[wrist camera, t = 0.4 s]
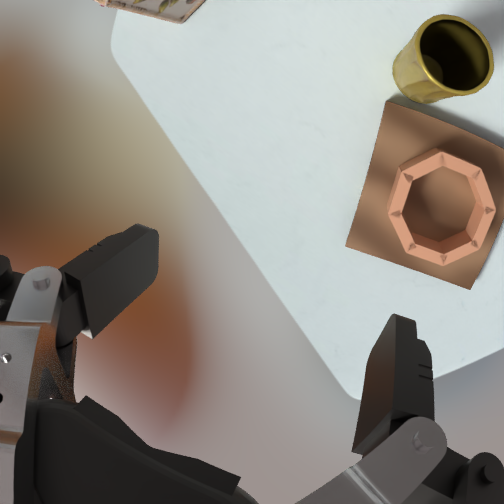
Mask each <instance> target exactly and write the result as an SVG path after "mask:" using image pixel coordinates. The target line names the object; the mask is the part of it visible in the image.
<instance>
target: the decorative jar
mask: <svg viewBox="0 0 504 504" xmlns="http://www.w3.org/2000/svg"><path fill="white" fill-rule="evenodd" d="M94 1H96V2H98V3H99V4H100V5H101V6H107V7H113V8H117V9H122V10H126V11H130V12H134V13H138V14H142V15H146V16H150V17H154V18H157V19H161V20H165V21H169V22H173V23H178V24H182V23H183V22H184V21H185V20H186V19H187V18H188V17H189V16H190V15H191V14H192V13H193V12H194V11H195V10H196V9H197V8H198V7H199V6H200V5H201V4H202V3H203V2H204V1H205V0H94Z"/></svg>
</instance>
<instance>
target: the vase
mask: <svg viewBox="0 0 504 504" xmlns="http://www.w3.org/2000/svg"><path fill="white" fill-rule="evenodd" d="M493 70H494V61H493V53H492V49H491V47H490V45H489V43H488V41H487V39H486V38H485V36H484V35H483V34H482V33H481V31H480V30H478V29H477V28H476V27H475V26H474V25H472V24H471V23H469V22H468V21H466V20H465V19H463V18H460V17H457V16H452V15H444V14H441V15H436V16H433V17H431V18H430V19H428V20H427V21H425V22H424V23H423V24H422V25H421V26H420V27H419V28H418V29H417V31H416V32H415V34H414V36H413V37H412V39H411V40H410V42H409V43H408V44H407V45H406V46H405V47H404V49H403V50H402V51H401V52H400V53H399V54H398V55H397V57H396V58H395V60H394V63H393V77H394V80H395V83H396V85H397V87H398V88H399V89H400V91H401V92H402V93H403V94H404V95H405V96H406V97H408V98H409V99H411V100H413V101H415V102H418V103H423V104H429V103H434V102H437V101H439V100H441V99H445V98H450V97H453V96H465V95H469V94H473V93H476V92H478V91H479V90H480V89H482V88H483V87H484V86H486V85H487V84H488V82H489V80H490V78H491V76H492V74H493Z"/></svg>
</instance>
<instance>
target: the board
mask: <svg viewBox="0 0 504 504" xmlns="http://www.w3.org/2000/svg"><path fill="white" fill-rule="evenodd" d="M433 148H438V149H441V150H443V151H446V152H448V153H451V154H453V155H455V156H458V157H460V158H462V159H465V160H467V161H469V162H472V163H473V164H475V165H476V166H478V167H479V168H481V169H482V172H483V174H484V177H485V179H486V182H487V185H488V188H489V190H490V193H491V196H492V199H493V202H494V205H495V208H496V212H495V214H494V217H493V219H492V222H491V224H490V227H489V229H488V231H487V234H486V236H485V238H484V241H483V243H482V245H481V247H480V249H479V250H477V251H475V252H473V253H471V254H469V255H467V256H464V257H462V258H460V259H458V260H456V261H454V262H451V263H449V264H447V265H445V266H441V265H439V264H436V263H433V262H430V261H428V260H425V259H422V258H419V257H416V256H414V255H411V254H408V253H406V252H405V250H404V247H403V245H402V243H401V241H400V239H399V237H398V234H397V232H396V230H395V228H394V226H393V224H392V222H391V220H390V218H389V216H388V210H387V203H388V200H389V197H390V193H391V190H392V187H393V184H394V181H395V177H396V174H397V171H398V167H399V165H401V164H403V163H405V162H407V161H409V160H411V159H413V158H415V157H417V156H419V155H421V154H423V153H425V152H427V151H429V150H431V149H433ZM475 203H476V199H475V196H474V194H473V191H472V189H471V186H470V183H469V181H468V178H467V176H466V175H464V174H461V173H459V172H457V171H454V170H452V169H449V168H447V167H444V166H441V167H439V168H437V169H435V170H433V171H431V172H429V173H427V174H425V175H423V176H421V177H419V178H417V179H415V180H413V181H412V183H411V186H410V189H409V192H408V195H407V198H406V201H405V204H404V207H403V210H402V212H403V214H404V216H405V218H406V220H407V223H408V225H409V227H410V229H411V231H412V232H413V233H416V234H418V235H421V236H424V237H426V238H429V239H432V240H435V241H437V242H440V241H442V240H445V239H447V238H449V237H451V236H453V235H455V234H457V233H459V232H462V231H464V230H465V229H466V227H467V224H468V222H469V219H470V217H471V214H472V211H473V209H474V206H475ZM503 219H504V149H503V148H501V147H499V146H497V145H495V144H493V143H491V142H489V141H487V140H485V139H483V138H481V137H478V136H476V135H474V134H472V133H470V132H467V131H465V130H463V129H461V128H458V127H456V126H454V125H451V124H449V123H446V122H444V121H441V120H439V119H436V118H434V117H431V116H429V115H426V114H423V113H421V112H418V111H415V110H412V109H409V108H407V107H404V106H401V105H398V104H395V103H392V102H388V101H386V102H385V107H384V111H383V115H382V119H381V123H380V127H379V131H378V135H377V139H376V143H375V147H374V151H373V154H372V158H371V162H370V165H369V169H368V172H367V176H366V179H365V183H364V186H363V190H362V193H361V196H360V200H359V203H358V206H357V210H356V213H355V216H354V219H353V222H352V226H351V229H350V232H349V235H348V238H347V241H346V245H345V247H348V248H351V249H355V250H358V251H360V252H363V253H366V254H369V255H372V256H375V257H378V258H381V259H384V260H387V261H390V262H393V263H396V264H399V265H402V266H404V267H407V268H410V269H413V270H416V271H419V272H422V273H424V274H427V275H430V276H433V277H436V278H438V279H441V280H444V281H447V282H449V283H452V284H455V285H458V286H460V287H463V288H466V289H469V290H470V289H471V288H472V286H473V284H474V282H475V280H476V278H477V276H478V274H479V272H480V270H481V268H482V266H483V264H484V262H485V260H486V258H487V256H488V253H489V251H490V249H491V247H492V245H493V242H494V240H495V238H496V236H497V233H498V231H499V229H500V226H501V224H502V221H503Z"/></svg>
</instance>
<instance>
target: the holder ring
mask: <svg viewBox="0 0 504 504" xmlns="http://www.w3.org/2000/svg"><path fill="white" fill-rule="evenodd" d="M441 166H444V167H447V168H449V169H452V170H454V171H457V172H459V173H461V174H464V175H466V176H467V178H468V181H469V183H470V186H471V189H472V191H473V194H474V196H475V199H476V203H475V206H474V209H473V211H472V214H471V217H470V219H469V222H468V224H467V227H466V229H465V230H464V231H462V232H459V233H457V234H455V235H453V236H451V237H449V238H447V239H445V240H442V241H440V242H437V241H435V240H432V239H429V238H426V237H424V236H421V235H418V234H416V233H413V232H412V231H411V229H410V227H409V225H408V223H407V220H406V218H405V216H404V214H403V212H402V210H403V207H404V204H405V201H406V198H407V195H408V192H409V189H410V186H411V183H412V181H413V180H415V179H417V178H419V177H421V176H423V175H425V174H427V173H429V172H431V171H433V170H435V169H437V168H439V167H441ZM387 210H388V216H389V218H390V220H391V222H392V224H393V226H394V228H395V230H396V232H397V234H398V237H399V239H400V241H401V243H402V245H403V247H404V250H405V252H406V253H408V254H411V255H414V256H416V257H419V258H422V259H425V260H428V261H430V262H433V263H436V264H439V265H441V266H445V265H447V264H449V263H451V262H454V261H456V260H458V259H460V258H462V257H464V256H467V255H469V254H471V253H473V252H475V251H477V250H479V249H480V247H481V245H482V243H483V241H484V238H485V236H486V234H487V231H488V229H489V227H490V224H491V222H492V219H493V217H494V214H495V212H496V208H495V205H494V202H493V199H492V196H491V193H490V190H489V188H488V185H487V182H486V179H485V177H484V174H483V172H482V169H481V168H479V167H478V166H476V165H475V164H473V163H472V162H469V161H467V160H465V159H462V158H460V157H458V156H455V155H453V154H451V153H448V152H446V151H443V150H441V149H438V148H433V149H431V150H429V151H427V152H425V153H423V154H421V155H419V156H417V157H415V158H413V159H411V160H409V161H407V162H405V163H403V164H401V165H399V167H398V171H397V174H396V177H395V181H394V184H393V187H392V190H391V193H390V197H389V200H388V203H387Z"/></svg>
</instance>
